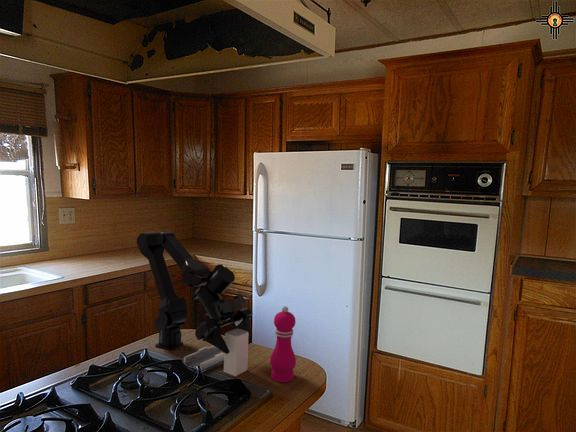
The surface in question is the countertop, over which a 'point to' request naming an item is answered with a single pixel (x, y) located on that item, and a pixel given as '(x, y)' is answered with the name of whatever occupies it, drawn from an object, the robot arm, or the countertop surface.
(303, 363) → the countertop surface
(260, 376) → the countertop surface
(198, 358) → the rail plate
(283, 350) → the pepper mill
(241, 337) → the block
